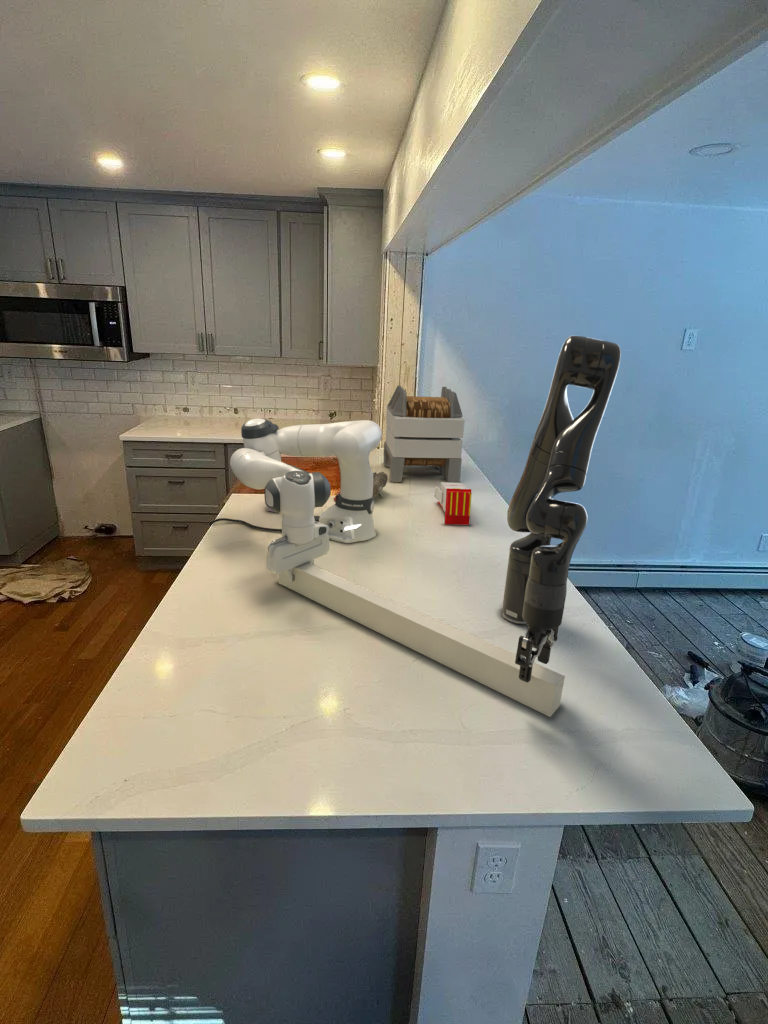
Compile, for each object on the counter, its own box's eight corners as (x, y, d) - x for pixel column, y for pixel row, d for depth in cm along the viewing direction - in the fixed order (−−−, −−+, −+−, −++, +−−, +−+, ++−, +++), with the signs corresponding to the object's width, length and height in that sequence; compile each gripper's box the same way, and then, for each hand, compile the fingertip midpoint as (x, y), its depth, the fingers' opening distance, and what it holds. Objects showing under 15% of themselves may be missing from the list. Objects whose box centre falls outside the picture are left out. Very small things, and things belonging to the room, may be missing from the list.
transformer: (382, 463, 289) (386, 382, 275) (445, 464, 293) (451, 384, 279) (390, 482, 257) (394, 392, 243) (460, 483, 261) (468, 394, 247)
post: (278, 583, 161) (277, 559, 158) (290, 578, 164) (290, 554, 162) (550, 717, 112) (555, 686, 110) (559, 706, 115) (565, 675, 113)
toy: (462, 478, 235) (476, 490, 206) (460, 509, 238) (473, 526, 208) (433, 477, 234) (442, 489, 205) (431, 509, 237) (440, 525, 208)
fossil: (356, 478, 247) (383, 459, 242) (370, 494, 250) (397, 476, 245) (349, 499, 228) (378, 479, 223) (363, 516, 230) (393, 497, 225)
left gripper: (276, 545, 144) (277, 594, 148) (333, 525, 159) (332, 569, 163) (260, 538, 147) (261, 586, 152) (317, 519, 162) (317, 563, 167)
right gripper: (547, 619, 102) (535, 695, 107) (577, 593, 112) (565, 663, 118) (509, 605, 106) (500, 679, 112) (542, 581, 117) (532, 649, 122)
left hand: (298, 577), depth 158 cm, fingers closed on post, 4 cm apart
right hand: (533, 670), depth 115 cm, fingers open, 8 cm apart
